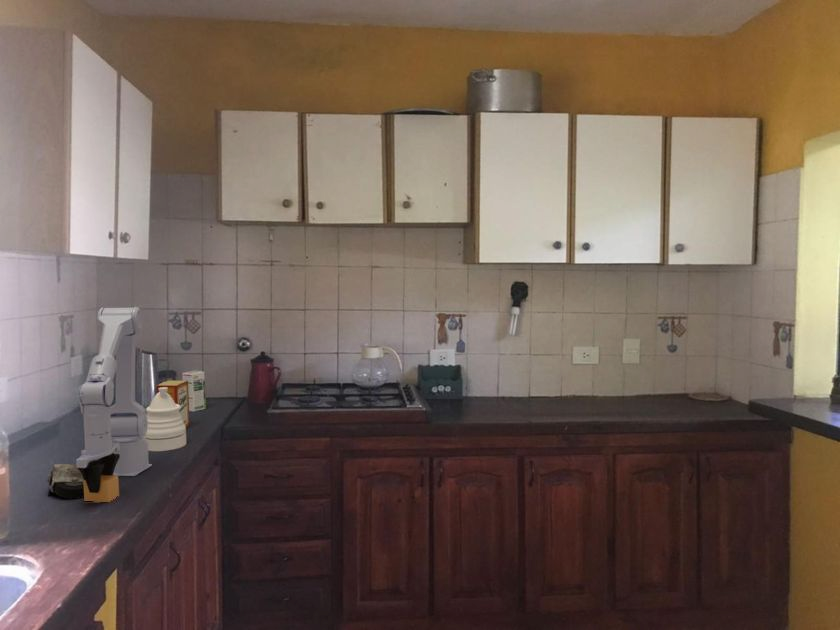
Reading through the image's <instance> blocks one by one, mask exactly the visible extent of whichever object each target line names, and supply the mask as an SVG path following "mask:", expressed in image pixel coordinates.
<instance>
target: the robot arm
mask: <svg viewBox="0 0 840 630" xmlns="http://www.w3.org/2000/svg"><path fill="white" fill-rule="evenodd" d="M96 316H97V317H96V319H97V321H96V323H97V327H98V330H99V332H100V334H101V338H100V344H99V348H98V349H99V350H98V355H96V356H94V357H93V358H92V360H91V362H90V365H89V369H88V373H87V376H86V380H85V382H84V383H83V384H80V385H79V388H78V391H77V392H78V394H77V401H78V404H79V407H80V413H81V415H83V416H82V417H83V433H84V435H83V436H84V449H83V450H81V451H80V454H81V455H80V456H79V457H78V458H76V460H75V465H76V467H77V468H78V469H79V471H80V472H81V473H82V475H83V476H84V478H85V481H86V483H87V486H88V489H89V492H90V493H98V492H99V490H100V482H101V475H109V476H111V475H114V476H118V477H136V476H137V475H139V474H140V473H142V472H143V471H145V470H147V469H148V468H150V467H152V464H151V463H149V451H148V443H147V440H146V439H145V438H144V436H145V435H146V433H147V428H148V421H147V416H146V414H147V411H146V407H144V406H143V405H141V404H140V403H138V402H137V401H136V346H137V341H138V340H139V339H142V338H143V329H144V327H143V326H144V324H143V323H144V321H143V320H144V318H143V313H142V310H141V309H140V307H138V306H134V307H101V308H100V309H99V310H98V312H97V315H96ZM114 379H115V384H114ZM114 390H115V391H114ZM114 392H115V393H114ZM114 394H115V403H114V404H113V405H112V403H113V402H114Z"/></svg>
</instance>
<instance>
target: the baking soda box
mask: <svg viewBox="0 0 840 630" xmlns="http://www.w3.org/2000/svg"><path fill="white" fill-rule="evenodd" d="M161 387H167V388H168V390H167V393H168V394H169V395H170V396H171V397H172V399H173V400H174V402H175V404H178V405H180V406H181V409H180V410H179V413H180V415H181V416H182V420H183V423H184V425H185V427H186V429H188V427H190V423H191V422H190V411H189V395H188V380H183V379H181V380H178V379H177V380H173V379H172V380H167V381H163V382H161V383H159V384H157V385H156V394H157V393H159V388H161Z"/></svg>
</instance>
